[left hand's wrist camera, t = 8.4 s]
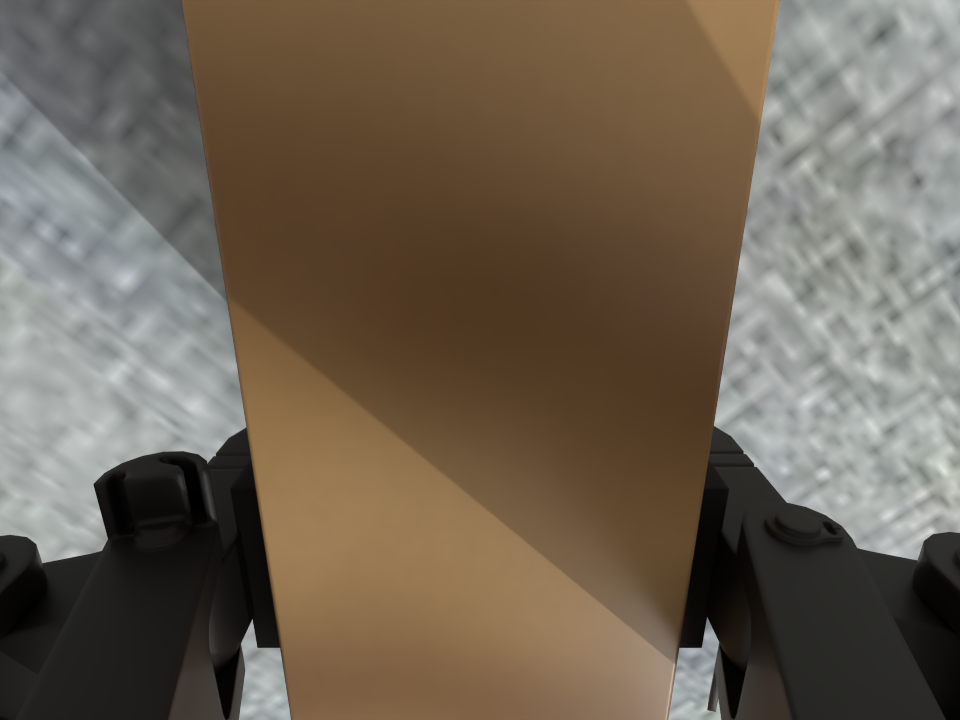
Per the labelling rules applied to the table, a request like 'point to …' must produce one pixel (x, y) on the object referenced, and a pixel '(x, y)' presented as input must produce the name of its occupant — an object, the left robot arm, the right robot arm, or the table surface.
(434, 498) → the beam
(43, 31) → the table surface
